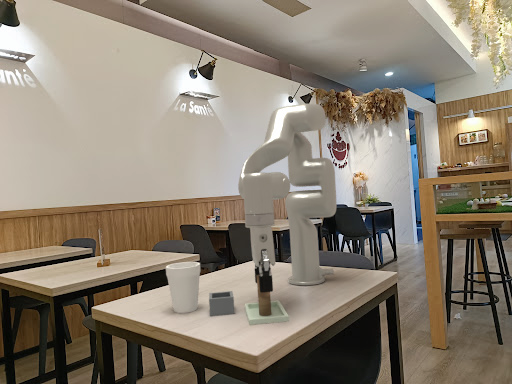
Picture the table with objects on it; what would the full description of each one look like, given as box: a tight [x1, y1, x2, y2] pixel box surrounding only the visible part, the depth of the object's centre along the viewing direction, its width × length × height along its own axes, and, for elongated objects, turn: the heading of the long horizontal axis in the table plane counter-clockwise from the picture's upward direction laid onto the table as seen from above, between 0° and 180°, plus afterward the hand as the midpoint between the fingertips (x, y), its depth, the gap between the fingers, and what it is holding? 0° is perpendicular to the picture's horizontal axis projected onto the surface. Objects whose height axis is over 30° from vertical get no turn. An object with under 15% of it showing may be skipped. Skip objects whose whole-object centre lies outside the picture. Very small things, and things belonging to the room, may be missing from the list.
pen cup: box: [208, 290, 235, 317], centre depth 103 cm, size 6×6×5 cm
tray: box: [244, 300, 290, 326], centre depth 99 cm, size 14×10×2 cm
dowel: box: [256, 274, 272, 316], centre depth 99 cm, size 3×3×10 cm
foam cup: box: [165, 261, 201, 314], centre depth 107 cm, size 10×9×13 cm
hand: (263, 287), depth 99 cm, fingers open, 9 cm apart
